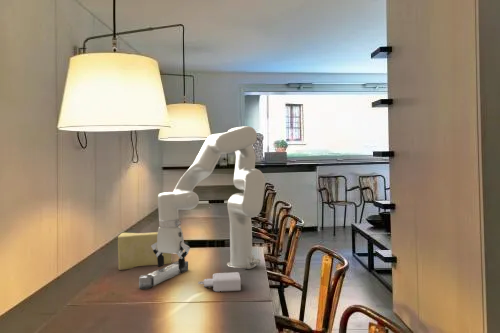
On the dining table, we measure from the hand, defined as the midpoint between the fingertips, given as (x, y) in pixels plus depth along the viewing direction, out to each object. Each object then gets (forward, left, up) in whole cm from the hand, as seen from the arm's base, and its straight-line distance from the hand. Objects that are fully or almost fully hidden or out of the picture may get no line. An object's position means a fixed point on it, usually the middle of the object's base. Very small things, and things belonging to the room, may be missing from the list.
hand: (171, 267), depth 165 cm
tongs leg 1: (+2, +2, -3) cm, 4 cm away
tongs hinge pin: (0, +16, -4) cm, 16 cm away
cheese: (+21, -12, -5) cm, 25 cm away
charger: (-23, +4, -5) cm, 24 cm away
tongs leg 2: (-1, +2, -3) cm, 4 cm away
